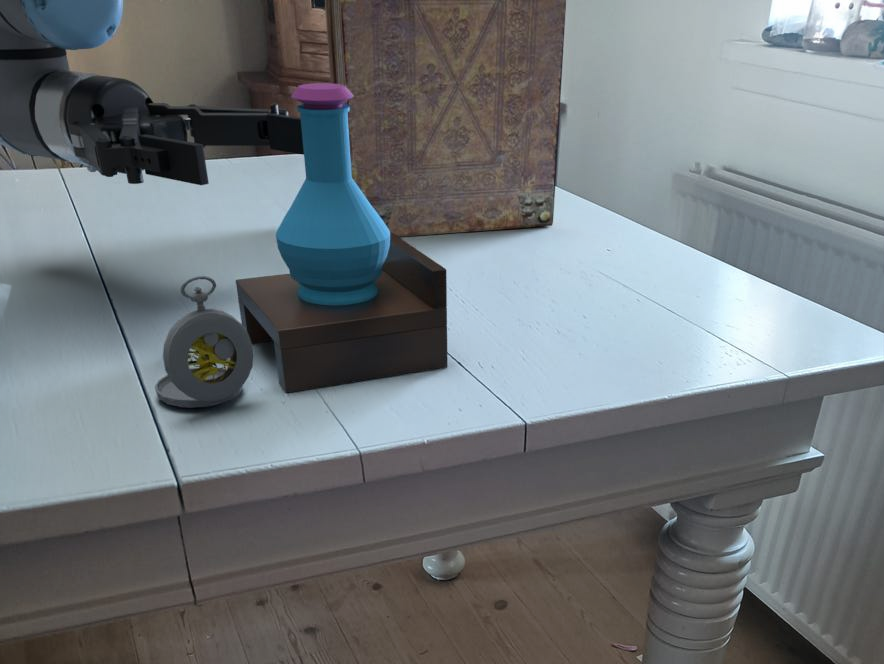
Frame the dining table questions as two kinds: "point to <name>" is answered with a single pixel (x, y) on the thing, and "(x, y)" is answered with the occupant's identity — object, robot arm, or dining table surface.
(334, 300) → the perfume bottle
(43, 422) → the dining table surface
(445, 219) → the book
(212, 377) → the pocket watch
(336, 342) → the shelf
